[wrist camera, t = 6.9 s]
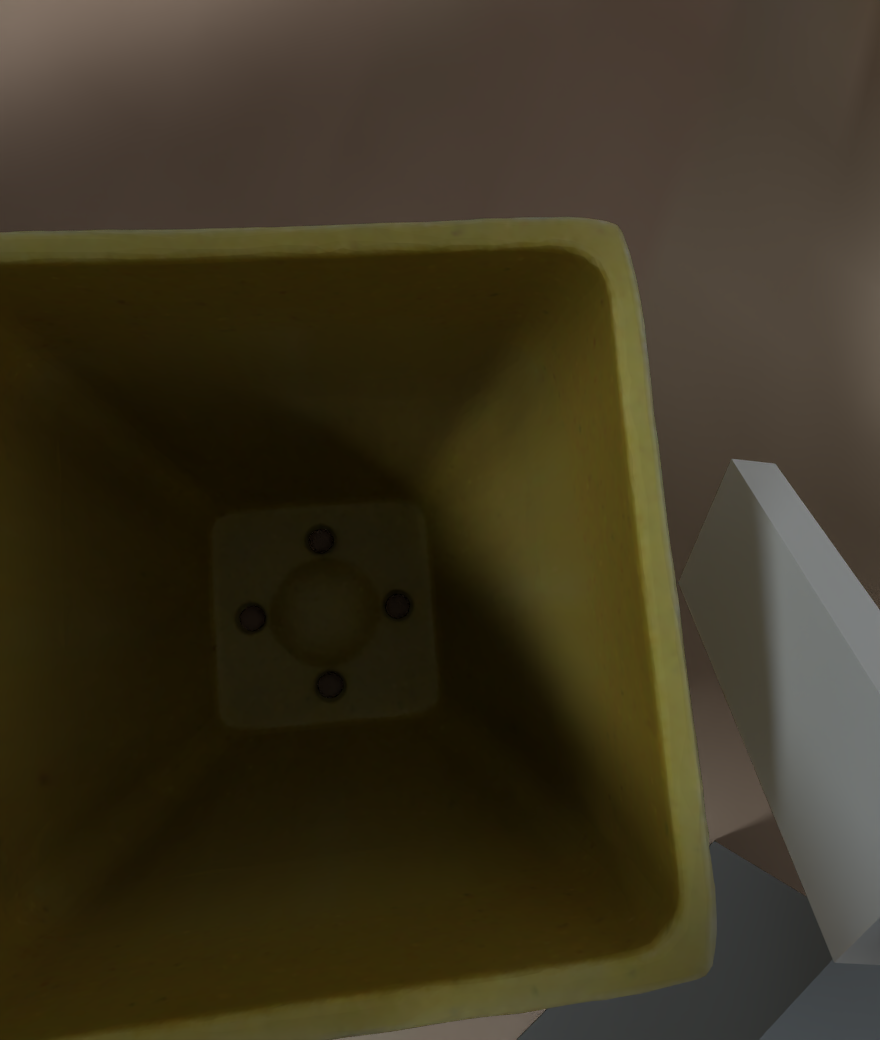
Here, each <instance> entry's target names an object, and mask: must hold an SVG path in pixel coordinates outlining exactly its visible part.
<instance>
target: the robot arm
mask: <svg viewBox="0 0 880 1040" xmlns="http://www.w3.org/2000/svg"><path fill="white" fill-rule="evenodd" d="M678 584H679V586H680V589H681V591H682V594H683V596H684V598H685V601H686V603H687V606H688V608H689V611H690V613H691V616H692V618H693V620H694V623H695V625H696V628H697V630H698V633H699V635H700V637H701V640H702V642H703V645H704V647H705V650H706V652H707V654H708V657H709V659H710V662H711V664H712V667H713V669H714V672H715V674H716V676H717V679H718V681H719V684H720V686H721V689H722V691H723V693H724V696H725V698H726V701H727V703H728V706H729V708H730V710H731V713H732V715H733V718H734V720H735V723H736V725H737V727H738V730H739V732H740V735H741V737H742V740H743V742H744V745H745V747H746V749H747V752H748V754H749V757H750V759H751V762H752V764H753V766H754V769H755V771H756V774H757V776H758V779H759V781H760V783H761V786H762V788H763V791H764V793H765V796H766V798H767V801H768V803H769V805H770V808H771V810H772V813H773V815H774V818H775V820H776V822H777V825H778V827H779V830H780V832H781V835H782V837H783V839H784V842H785V844H786V847H787V849H788V852H789V854H790V856H791V859H792V861H793V864H794V866H795V869H796V871H797V874H798V876H799V878H800V881H801V883H802V886H803V888H804V891H805V893H806V895H807V898H808V900H809V903H810V905H811V908H812V910H813V912H814V915H815V917H816V920H817V922H818V925H819V927H820V929H821V932H822V934H823V937H824V939H825V942H826V944H827V947H828V949H829V951H830V954H831V956H832V959H833V961H834V963H847V964H867V965H880V610H879V608H878V607H877V605H876V604H875V603H874V601H873V600H872V598H871V597H870V596H869V594H868V593H867V591H866V590H865V589H864V587H863V586H862V584H861V583H860V582H859V580H858V579H857V577H856V576H855V575H854V573H853V572H852V570H851V569H850V568H849V566H848V565H847V563H846V562H845V561H844V559H843V558H842V556H841V555H840V554H839V552H838V551H837V549H836V548H835V547H834V545H833V544H832V542H831V541H830V540H829V538H828V537H827V535H826V534H825V533H824V531H823V530H822V528H821V527H820V526H819V524H818V523H817V521H816V520H815V519H814V517H813V516H812V514H811V513H810V512H809V510H808V509H807V507H806V506H805V505H804V503H803V502H802V500H801V499H800V498H799V496H798V495H797V493H796V492H795V491H794V489H793V488H792V486H791V485H790V484H789V482H788V481H787V479H786V478H785V477H784V475H783V474H782V472H781V471H780V470H779V468H778V467H777V465H776V464H775V463H766V462H757V461H748V460H739V459H731V461H730V463H729V465H728V468H727V470H726V472H725V475H724V477H723V479H722V482H721V484H720V486H719V489H718V491H717V493H716V496H715V498H714V500H713V503H712V505H711V507H710V510H709V512H708V514H707V517H706V519H705V521H704V524H703V526H702V528H701V531H700V533H699V535H698V538H697V540H696V542H695V545H694V547H693V549H692V552H691V554H690V556H689V559H688V561H687V563H686V566H685V568H684V570H683V573H682V575H681V577H680V580H679V582H678Z"/></svg>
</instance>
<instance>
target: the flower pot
mask: <svg viewBox="0 0 880 1040" xmlns="http://www.w3.org/2000/svg"><path fill="white" fill-rule="evenodd" d="M317 529H325V530H328V531H329V532H330V533H331V534H332V536H333V540H334V543H333V546H332V547H331V549H330V550H328V551H327V552H325V553H317V552H315V551H313V550H312V549H311V548H310V546H309V536H310V534H311V533H312V532H313V531H315V530H317ZM397 593H398V594H402V595H404V596H405V597H406V598H408V600H409V602H410V609H409V612H408V614H407V615H406V616H405V617H403V618H398V619H395V618H392V617H391V616H389V615H388V614H387V612H386V610H385V604H386V601H387V599H388V598H389V597H390V596H391V595H393V594H397ZM252 605H254V606H258V607H260V608H261V609H262V610H263V611H264V613H265V616H266V619H265V623H264V625H263V626H262V628H261V629H258V630H256V631H249V630H247V629H245V628H243V627H242V625H241V623H240V619H239V618H240V614H241V612H242V611H243V610H244V609H245V608H246V607H248V606H252ZM328 672H334V673H337V674H338V675H339V676H340V677H341V678H342V680H343V689H342V692H341V693H340V694H339V695H338V696H337V697H335V698H326V697H324V696H322V695H321V694H320V692H319V691H318V687H317V684H318V680H319V679H320V677H321V676H322V675H324V674H325V673H328ZM716 935H717V912H716V894H715V884H714V878H713V870H712V862H711V856H710V849H709V832H708V827H707V822H706V816H705V805H704V794H703V785H702V778H701V770H700V763H699V755H698V747H697V739H696V733H695V727H694V721H693V713H692V705H691V698H690V690H689V682H688V675H687V667H686V659H685V652H684V644H683V635H682V626H681V617H680V607H679V599H678V593H677V587H676V579H675V571H674V564H673V558H672V552H671V546H670V538H669V530H668V522H667V513H666V505H665V497H664V488H663V479H662V470H661V461H660V452H659V444H658V437H657V430H656V424H655V417H654V407H653V396H652V385H651V377H650V368H649V360H648V351H647V342H646V333H645V324H644V318H643V312H642V305H641V299H640V294H639V289H638V284H637V279H636V275H635V271H634V267H633V264H632V260H631V256H630V252H629V249H628V247H627V244H626V241H625V238H624V236H623V233H622V231H621V230H620V228H619V227H618V226H617V225H616V224H613V223H610V222H607V221H604V220H598V219H591V218H581V217H519V218H481V219H473V220H452V221H435V222H400V223H367V224H345V225H319V226H291V227H249V228H208V229H170V230H113V229H110V230H81V231H70V230H63V231H15V232H0V1040H332V1039H339V1038H345V1037H352V1036H361V1035H369V1034H376V1033H384V1032H391V1031H398V1030H404V1029H410V1028H415V1027H421V1026H427V1025H432V1024H439V1023H445V1022H452V1021H458V1020H464V1019H472V1018H480V1017H488V1016H498V1015H508V1014H518V1013H525V1012H531V1011H537V1010H542V1009H548V1008H553V1007H559V1006H564V1005H570V1004H577V1003H583V1002H590V1001H600V1000H608V999H613V998H617V997H624V996H630V995H637V994H642V993H646V992H650V991H654V990H658V989H662V988H666V987H670V986H673V985H677V984H681V983H685V982H689V981H693V980H697V979H699V978H702V977H704V976H706V975H707V973H708V972H709V970H710V969H711V967H712V966H713V960H714V953H715V946H716Z"/></svg>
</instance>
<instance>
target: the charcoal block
mask: <svg viewBox="0 0 880 1040" xmlns="http://www.w3.org/2000/svg"><path fill="white" fill-rule="evenodd" d="M709 849H710V856H711V862H712V870H713V878H714V884H715V894H716V912H717V935H716V946H715V953H714V960H713V966H712V967H711V969H710V970H709V972H708V973H707V975H706V976H704V977H702V978H699V979H697V980H693V981H689V982H685V983H681V984H677V985H673V986H670V987H666V988H662V989H658V990H654V991H650V992H646V993H642V994H637V995H630V996H624V997H617V998H613V999H608V1000H600V1001H590V1002H583V1003H577V1004H570V1005H564V1006H559V1007H553V1008H548V1009H547V1010H546V1011H545V1012H544V1013H543V1014H542V1015H541V1016H540V1017H539V1018H538V1019H537V1020H536V1021H535V1022H534V1023H533V1024H532V1025H531V1026H530V1027H529V1028H528V1029H527V1030H526V1031H525V1032H524V1033H523V1034H522V1035H521V1036H520V1037H519V1038H518V1039H517V1040H880V965H867V964H847V963H834V961H833V959H832V956H831V954H830V951H829V949H828V947H827V944H826V942H825V939H824V937H823V934H822V932H821V929H820V927H819V925H818V922H817V920H816V917H815V915H814V912H813V910H812V908H811V905H810V903H809V900H808V898H807V897H806V896H804V895H803V894H801V893H799V892H798V891H796V890H795V889H793V888H791V887H790V886H788V885H786V884H785V883H783V882H781V881H780V880H778V879H776V878H775V877H773V876H771V875H770V874H768V873H766V872H765V871H763V870H762V869H760V868H758V867H757V866H755V865H753V864H752V863H750V862H748V861H747V860H745V859H743V858H742V857H740V856H738V855H737V854H735V853H733V852H732V851H730V850H728V849H727V848H725V847H724V846H722V845H720V844H719V843H717V842H715V841H714V842H713V843H712V844H711V845H710V846H709Z"/></svg>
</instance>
